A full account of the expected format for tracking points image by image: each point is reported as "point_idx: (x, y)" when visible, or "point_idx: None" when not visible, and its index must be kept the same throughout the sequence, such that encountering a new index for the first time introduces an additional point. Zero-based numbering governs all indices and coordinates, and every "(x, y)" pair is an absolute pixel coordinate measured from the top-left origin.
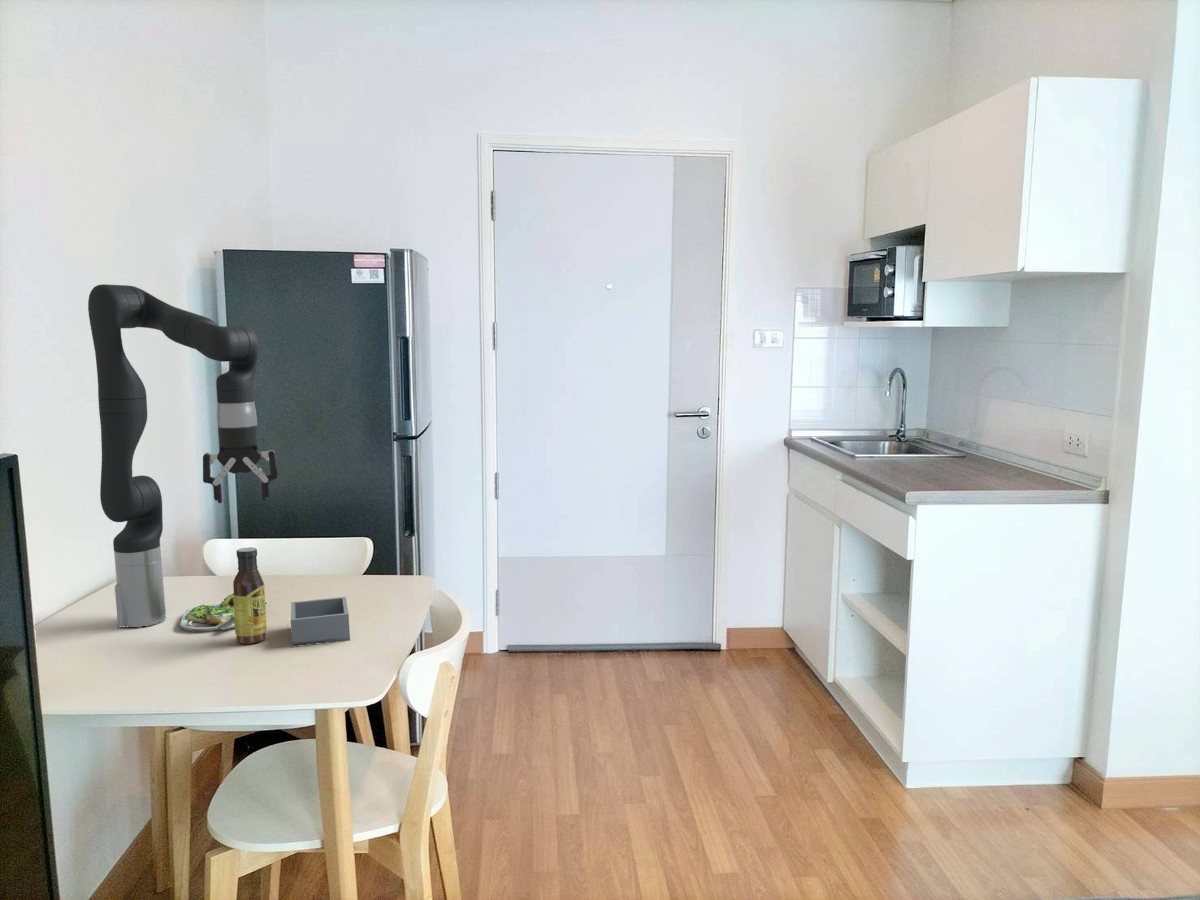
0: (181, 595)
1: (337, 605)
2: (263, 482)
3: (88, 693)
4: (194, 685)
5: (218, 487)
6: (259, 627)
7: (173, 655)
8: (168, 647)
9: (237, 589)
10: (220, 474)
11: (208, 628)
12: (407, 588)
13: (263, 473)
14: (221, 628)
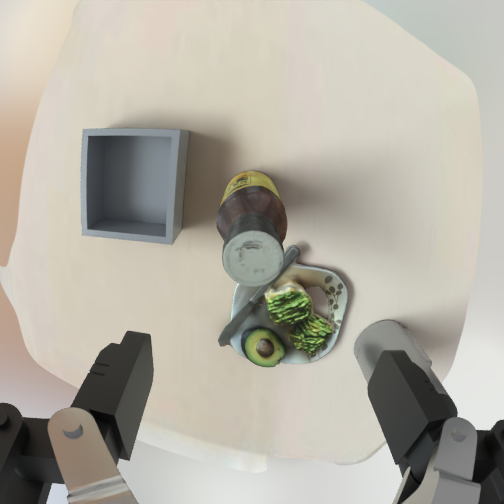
0: (320, 415)
1: (100, 226)
2: (99, 424)
3: (452, 99)
4: (341, 43)
5: (435, 411)
6: (237, 176)
7: (366, 181)
8: (369, 222)
9: (278, 201)
10: (470, 480)
11: (312, 267)
12: (37, 326)
13: (64, 479)
14: (295, 246)
